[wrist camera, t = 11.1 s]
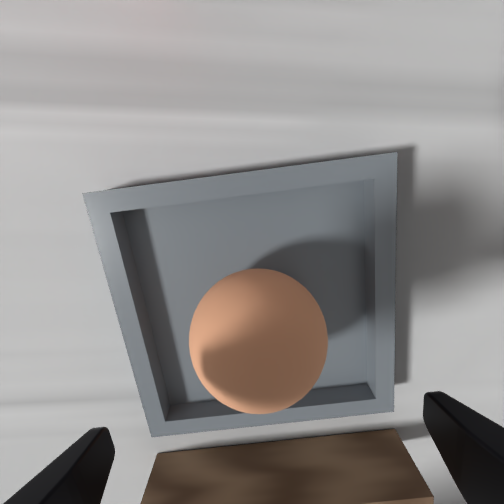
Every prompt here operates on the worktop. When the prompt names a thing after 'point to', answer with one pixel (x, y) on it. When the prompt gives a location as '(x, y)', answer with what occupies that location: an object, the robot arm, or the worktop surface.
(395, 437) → the fence
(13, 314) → the worktop surface
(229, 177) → the dish
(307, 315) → the ball
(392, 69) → the worktop surface
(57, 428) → the worktop surface
